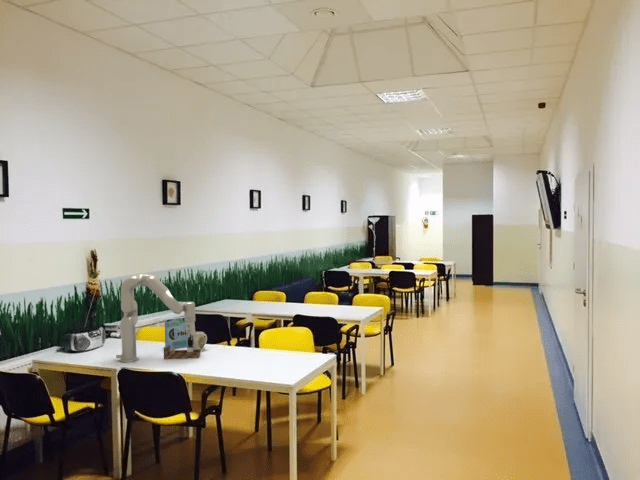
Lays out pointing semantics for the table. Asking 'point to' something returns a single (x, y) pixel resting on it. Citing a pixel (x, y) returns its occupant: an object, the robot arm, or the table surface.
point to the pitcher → (199, 340)
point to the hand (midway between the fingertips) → (190, 344)
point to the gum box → (176, 333)
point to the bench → (180, 353)
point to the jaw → (191, 347)
